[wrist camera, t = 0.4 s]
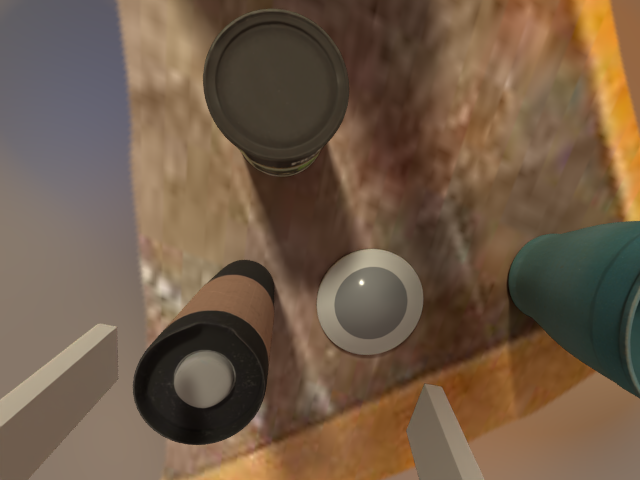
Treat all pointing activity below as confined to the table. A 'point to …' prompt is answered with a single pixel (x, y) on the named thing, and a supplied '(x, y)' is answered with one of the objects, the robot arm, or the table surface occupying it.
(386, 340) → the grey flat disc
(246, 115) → the coffee can
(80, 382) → the robot arm
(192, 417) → the travel mug
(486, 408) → the table surface
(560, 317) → the flower pot
